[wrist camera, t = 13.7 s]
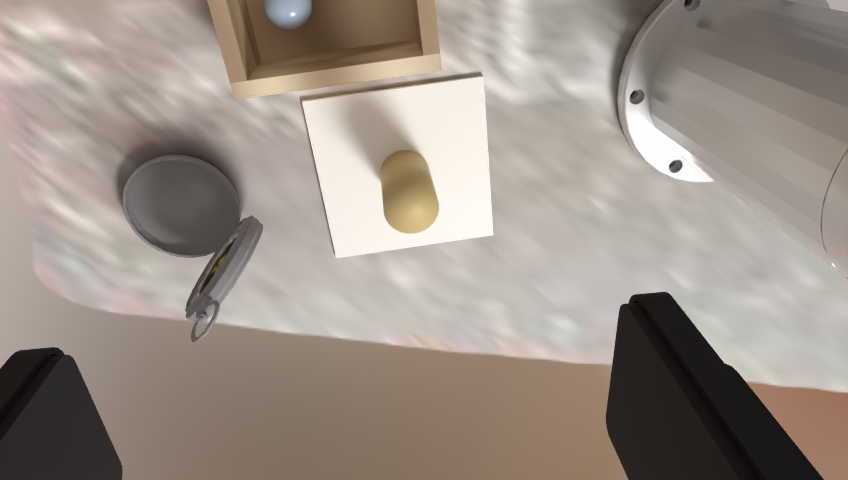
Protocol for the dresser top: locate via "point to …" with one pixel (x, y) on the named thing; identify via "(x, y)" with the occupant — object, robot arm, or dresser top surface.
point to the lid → (403, 165)
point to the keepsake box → (325, 44)
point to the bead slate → (288, 13)
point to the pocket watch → (193, 225)
